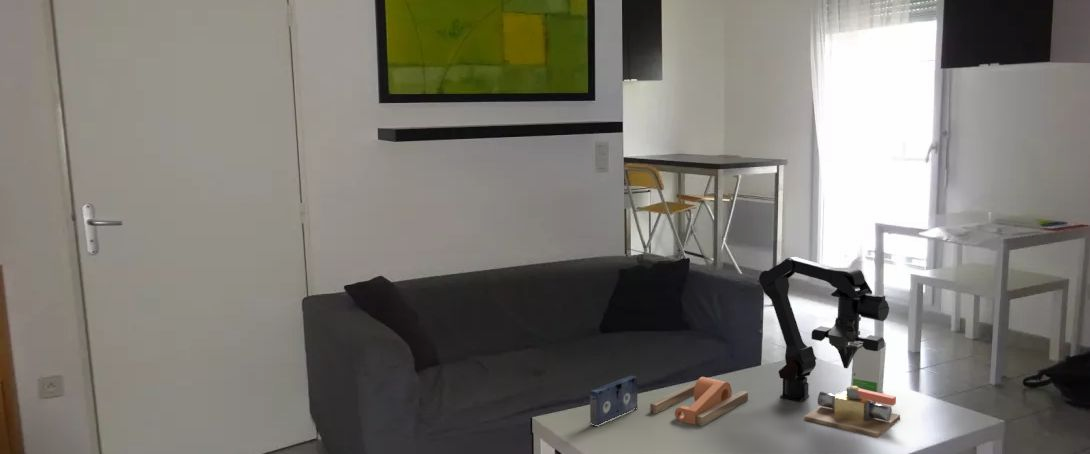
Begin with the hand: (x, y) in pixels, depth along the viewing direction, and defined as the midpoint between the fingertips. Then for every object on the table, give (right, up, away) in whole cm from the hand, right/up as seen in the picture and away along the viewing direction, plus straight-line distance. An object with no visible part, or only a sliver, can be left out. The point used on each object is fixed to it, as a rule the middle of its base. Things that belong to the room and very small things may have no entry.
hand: (846, 367), depth 231 cm
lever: (+4, -7, -7) cm, 11 cm away
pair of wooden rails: (-40, -13, +8) cm, 42 cm away
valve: (+1, -13, -3) cm, 14 cm away
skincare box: (+13, -10, +18) cm, 24 cm away
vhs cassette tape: (-65, -14, +1) cm, 67 cm away
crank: (-40, -14, +5) cm, 42 cm away
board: (0, -13, -4) cm, 14 cm away
